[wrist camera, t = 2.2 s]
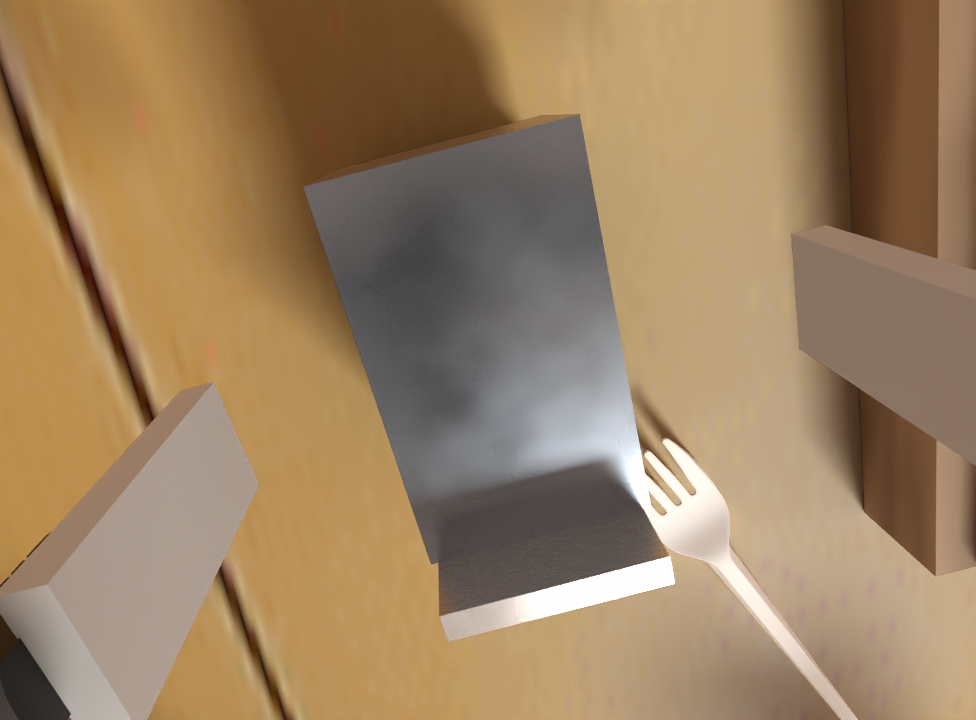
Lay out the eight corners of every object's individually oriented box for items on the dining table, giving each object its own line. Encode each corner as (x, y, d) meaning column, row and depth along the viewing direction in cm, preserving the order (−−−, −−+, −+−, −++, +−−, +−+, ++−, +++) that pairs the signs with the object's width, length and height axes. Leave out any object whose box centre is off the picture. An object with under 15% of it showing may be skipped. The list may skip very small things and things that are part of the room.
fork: (815, 728, 32) (838, 764, 30) (587, 456, 25) (600, 483, 23) (873, 694, 31) (900, 728, 30) (658, 406, 24) (676, 430, 23)
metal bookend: (436, 460, 24) (440, 643, 16) (343, 165, 20) (282, 197, 12) (594, 419, 24) (682, 581, 16) (531, 115, 20) (603, 113, 12)
